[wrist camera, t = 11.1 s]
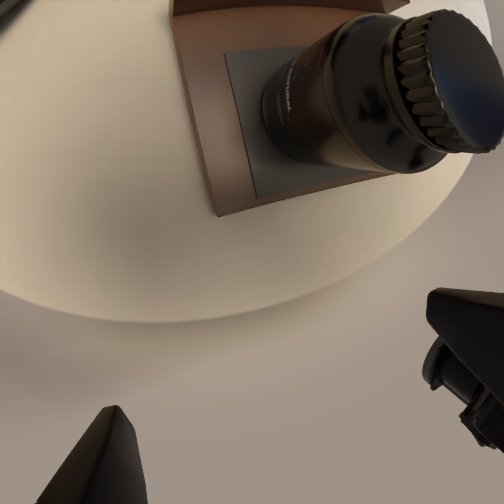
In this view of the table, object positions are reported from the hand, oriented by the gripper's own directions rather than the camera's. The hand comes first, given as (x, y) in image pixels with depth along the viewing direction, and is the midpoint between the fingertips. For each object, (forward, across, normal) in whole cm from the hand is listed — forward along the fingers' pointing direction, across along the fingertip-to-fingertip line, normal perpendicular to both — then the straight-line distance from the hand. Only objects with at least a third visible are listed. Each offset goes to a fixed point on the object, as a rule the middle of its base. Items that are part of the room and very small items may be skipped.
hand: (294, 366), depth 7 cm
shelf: (+13, -8, -9) cm, 18 cm away
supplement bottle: (+12, -8, -7) cm, 15 cm away
